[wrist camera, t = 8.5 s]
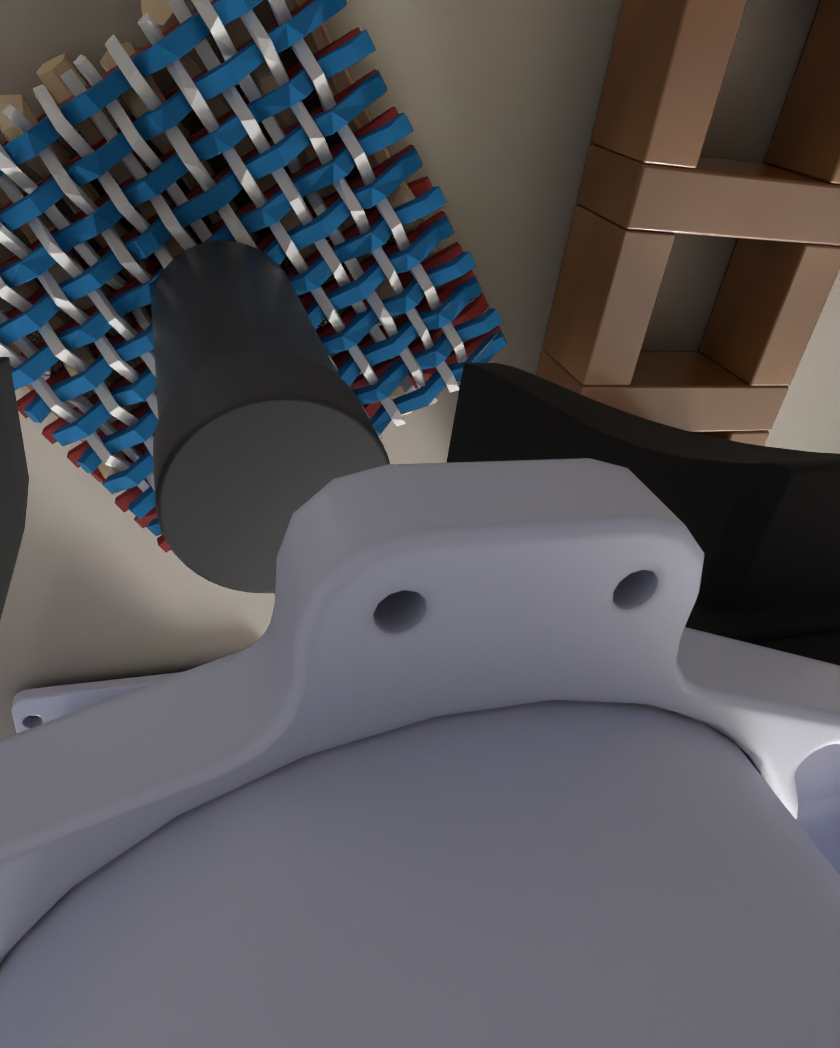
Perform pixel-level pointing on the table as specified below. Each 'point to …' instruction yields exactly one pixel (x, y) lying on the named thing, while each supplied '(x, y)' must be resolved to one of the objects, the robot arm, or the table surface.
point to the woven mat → (221, 223)
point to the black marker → (243, 413)
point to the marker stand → (698, 226)
